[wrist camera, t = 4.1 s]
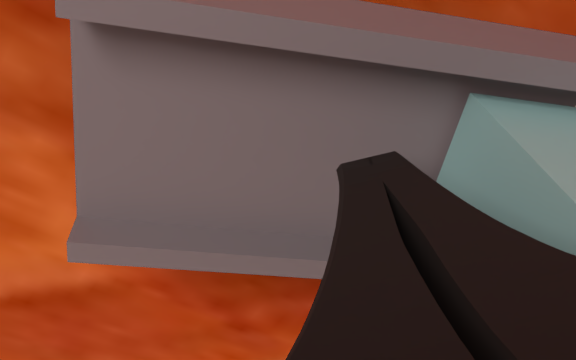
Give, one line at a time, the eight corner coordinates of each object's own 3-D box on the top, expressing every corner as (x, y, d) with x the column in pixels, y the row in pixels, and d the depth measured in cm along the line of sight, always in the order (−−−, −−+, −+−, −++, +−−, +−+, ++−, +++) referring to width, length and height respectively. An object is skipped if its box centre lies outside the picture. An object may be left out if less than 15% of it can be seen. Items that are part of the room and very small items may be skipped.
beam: (892, 77, 17) (1175, 179, 12) (763, 236, 20) (941, 368, 15) (99, -57, 13) (16, 14, 8) (100, 172, 16) (43, 327, 11)
